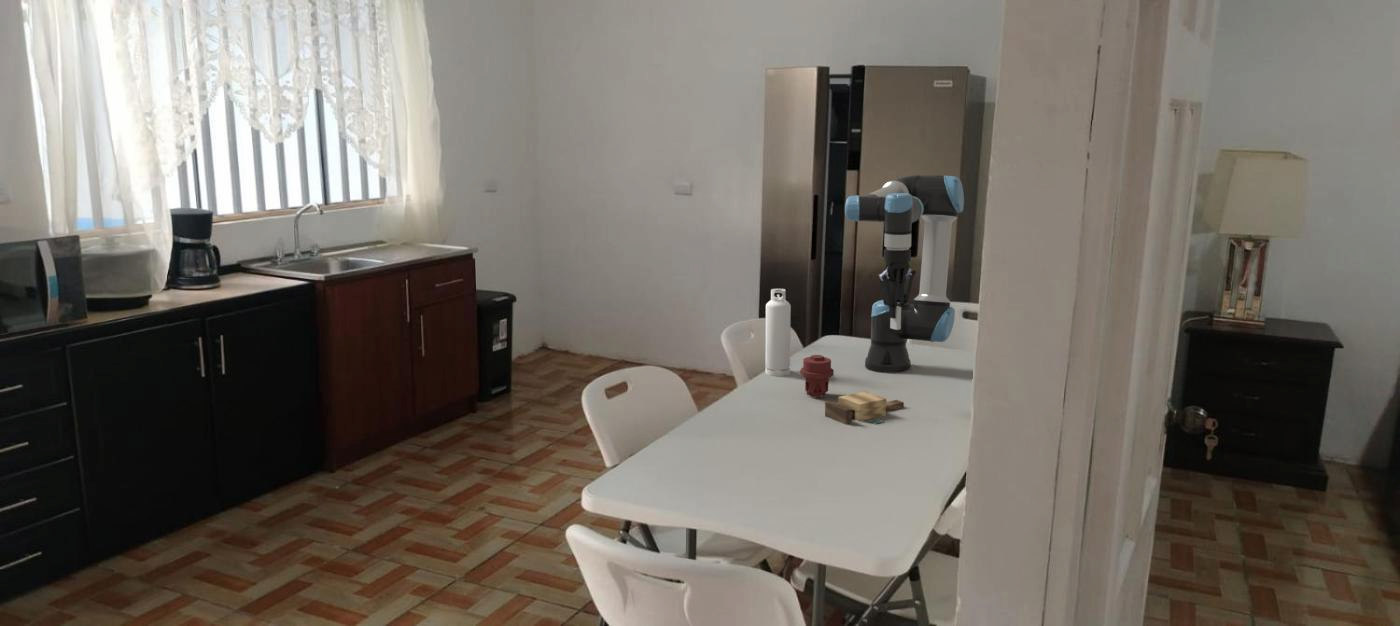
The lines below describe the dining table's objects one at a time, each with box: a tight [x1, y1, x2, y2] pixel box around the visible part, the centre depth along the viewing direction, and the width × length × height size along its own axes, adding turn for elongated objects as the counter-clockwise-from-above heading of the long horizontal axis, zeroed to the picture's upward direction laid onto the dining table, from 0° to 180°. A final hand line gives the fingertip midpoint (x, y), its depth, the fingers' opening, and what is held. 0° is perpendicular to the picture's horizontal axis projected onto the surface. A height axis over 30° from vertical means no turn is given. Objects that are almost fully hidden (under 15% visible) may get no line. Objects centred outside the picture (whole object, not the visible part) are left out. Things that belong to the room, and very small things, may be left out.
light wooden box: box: [837, 390, 887, 422], centre depth 277 cm, size 10×9×5 cm
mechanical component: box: [799, 354, 834, 399], centre depth 295 cm, size 12×10×10 cm
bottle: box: [764, 288, 792, 377], centre depth 319 cm, size 8×8×28 cm
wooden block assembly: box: [824, 399, 905, 425], centre depth 278 cm, size 24×18×4 cm
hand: (895, 328), depth 282 cm, fingers closed
